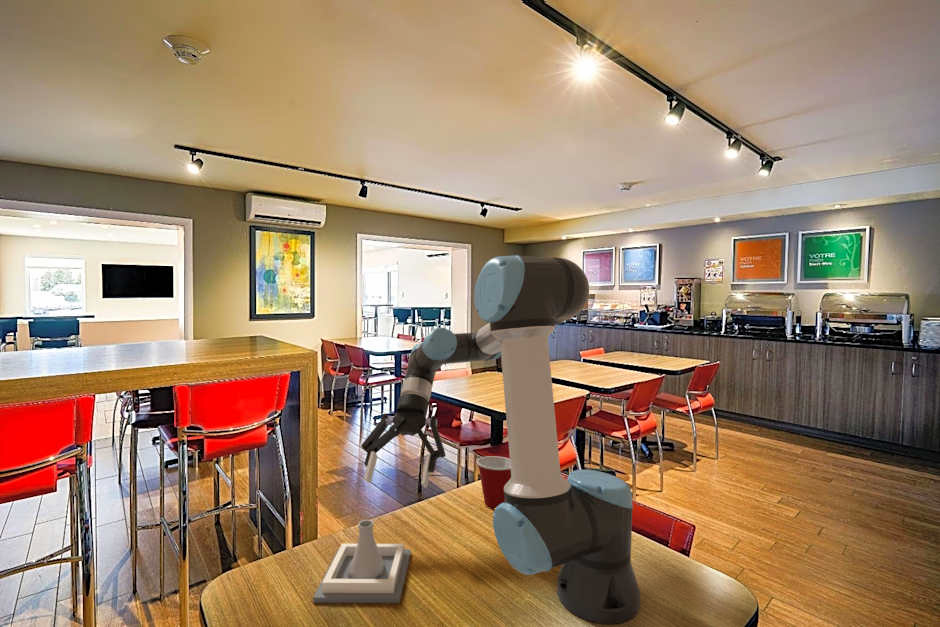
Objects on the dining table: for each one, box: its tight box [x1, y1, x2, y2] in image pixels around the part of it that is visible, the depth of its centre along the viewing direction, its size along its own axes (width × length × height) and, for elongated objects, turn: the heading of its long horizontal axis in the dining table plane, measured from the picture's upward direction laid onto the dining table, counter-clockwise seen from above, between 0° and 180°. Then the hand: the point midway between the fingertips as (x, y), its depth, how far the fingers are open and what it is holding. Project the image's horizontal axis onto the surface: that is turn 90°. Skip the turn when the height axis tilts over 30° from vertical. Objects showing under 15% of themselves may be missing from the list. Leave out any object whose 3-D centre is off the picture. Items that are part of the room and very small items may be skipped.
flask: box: [348, 519, 384, 579], centre depth 95 cm, size 7×7×10 cm
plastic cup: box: [476, 455, 511, 509], centre depth 126 cm, size 11×11×12 cm
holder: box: [312, 542, 412, 604], centre depth 95 cm, size 16×16×3 cm
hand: (395, 483), depth 106 cm, fingers open, 13 cm apart
